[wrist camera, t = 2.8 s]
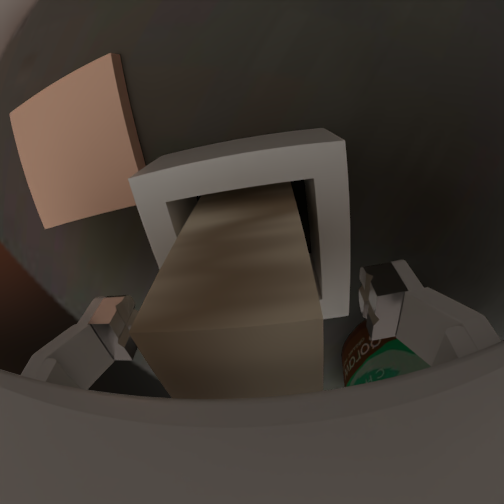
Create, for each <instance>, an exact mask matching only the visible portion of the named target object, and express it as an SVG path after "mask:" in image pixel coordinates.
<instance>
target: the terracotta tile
mask: <svg viewBox="0 0 504 504" xmlns="http://www.w3.org/2000/svg"><path fill="white" fill-rule="evenodd" d="M10 119H11V124H12V128H13V133H14V137H15V141H16V145H17V149H18V152H19V156H20V160H21V163H22V166H23V170H24V173H25V176H26V179H27V182H28V185H29V188H30V191H31V194H32V197H33V200H34V202H35V205H36V208H37V210H38V213H39V215H40V218H41V220H42V223H43V225H44V228H45V229H47V228H51V227H54V226H57V225H61V224H64V223H68V222H71V221H75V220H79V219H82V218H86V217H90V216H94V215H98V214H102V213H105V212H109V211H114V210H118V209H122V208H126V207H130V206H135V205H136V203H135V200H134V196H133V193H132V190H131V187H130V184H129V181H128V178H130V177H131V176H132V175H134V174H135V173H137V172H138V171H140V170H141V169H143V168H144V167H145V166H146V165H145V161H144V157H143V154H142V150H141V146H140V143H139V139H138V135H137V131H136V127H135V123H134V119H133V114H132V110H131V106H130V102H129V97H128V93H127V88H126V83H125V78H124V73H123V68H122V63H121V58H120V55H119V54H113V53H109V54H107V55H105V56H103V57H101V58H99V59H97V60H95V61H93V62H91V63H89V64H87V65H85V66H83V67H81V68H79V69H77V70H76V71H74V72H72V73H70V74H68V75H67V76H65V77H63V78H61V79H60V80H58V81H56V82H55V83H53V84H52V85H50V86H48V87H47V88H45V89H44V90H42V91H41V92H39V93H38V94H36V95H35V96H33V97H32V98H30V99H29V100H27V101H26V102H24V103H23V104H22V105H20V106H19V107H18V108H16V109H15V110H14V111H12V112H11V113H10Z"/></svg>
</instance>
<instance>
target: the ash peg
mask: <svg viewBox="0 0 504 504" xmlns="http://www.w3.org/2000/svg"><path fill="white" fill-rule="evenodd" d="M129 334H130V336H131V337H132V339H133V341H134V342H135V344H136V346H137V347H138V349H139V350H140V352H141V353H142V355H143V357H144V358H145V360H146V361H147V363H148V364H149V366H150V367H151V369H152V370H153V372H154V373H155V375H156V376H157V378H158V379H159V380H160V382H161V383H162V385H163V386H164V388H165V389H166V390H167V392H168V393H169V394H170V396H171V397H172V398H177V399H236V398H256V397H270V396H282V395H292V394H301V393H309V392H316V391H323V367H324V342H323V315H322V310H321V305H320V301H319V296H318V291H317V287H316V282H315V278H314V274H313V269H312V265H311V261H310V256H309V252H308V248H307V244H306V240H305V236H304V232H303V228H302V224H301V220H300V216H299V212H298V208H297V204H296V201H295V197H294V193H293V190H292V186H291V182H290V181H288V182H281V183H274V184H267V185H260V186H253V187H247V188H240V189H234V190H228V191H222V192H217V193H211V194H205V195H201V197H200V199H199V200H198V202H197V204H196V206H195V207H194V209H193V211H192V212H191V214H190V216H189V218H188V219H187V221H186V223H185V225H184V226H183V228H182V230H181V232H180V234H179V235H178V237H177V239H176V241H175V243H174V244H173V246H172V248H171V250H170V252H169V254H168V255H167V257H166V259H165V261H164V263H163V265H162V267H161V269H160V270H159V272H158V274H157V276H156V278H155V280H154V282H153V284H152V286H151V288H150V290H149V292H148V294H147V296H146V298H145V300H144V302H143V304H142V306H141V308H140V310H139V312H138V314H137V316H136V318H135V320H134V322H133V325H132V327H131V329H130V331H129Z"/></svg>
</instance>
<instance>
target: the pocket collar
mask: <svg viewBox="0 0 504 504" xmlns="http://www.w3.org/2000/svg"><path fill="white" fill-rule="evenodd" d="M296 180H304V184H305V193H306V202H307V211H308V221H309V232H310V243H311V253H309V256H310V261H311V265H312V269H313V274H314V278H315V282H316V287H317V291H318V296H319V301H320V305H321V310H322V315H323V319H329V318H336V317H343V316H349V298H350V205H349V184H348V169H347V156H346V145H345V140H343V139H342V138H340V137H338V136H337V135H335V134H333V133H332V132H330V131H328V130H326V129H325V128H315V129H305V130H297V131H288V132H281V133H273V134H267V135H260V136H254V137H248V138H242V139H236V140H231V141H225V142H220V143H215V144H210V145H205V146H201V147H196V148H192V149H187V150H183V151H179V152H175V153H171V154H167V155H163V156H160V157H159V158H157V159H156V160H154V161H153V162H151V163H150V164H148V165H147V166H145V167H144V168H143V169H141V170H140V171H138V172H137V173H135V174H134V175H132V176H131V177H130V178H128V181H129V184H130V187H131V190H132V193H133V196H134V200H135V203H136V206H137V209H138V212H139V215H140V217H141V220H142V223H143V226H144V229H145V232H146V235H147V237H148V240H149V243H150V245H151V248H152V251H153V254H154V256H155V259H156V261H157V264H158V266H159V269H161V267H162V265H163V263H164V261H165V259H166V257H167V255H168V254H169V252H170V250H171V248H172V246H173V244H174V243H175V241H176V239H177V237H178V235H179V234H180V232H181V230H182V228H183V226H184V225H185V223H186V221H187V219H188V218H189V216H190V214H191V212H192V211H193V209H194V207H195V206H196V204H197V202H198V201H197V198H196V196H200V195H205V194H211V193H217V192H222V191H228V190H234V189H240V188H247V187H253V186H260V185H267V184H274V183H281V182H288V181H296Z"/></svg>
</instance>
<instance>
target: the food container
mask: <svg viewBox="0 0 504 504" xmlns="http://www.w3.org/2000/svg"><path fill="white" fill-rule="evenodd" d="M366 323H367V319H366V320H364V321H363V322H362V323H360V324H359V325H358V326H357V327H356V328H355V329H354V331H353V332H352V333H351V334H350V335H349V337H348V338H347V340H346V341H345V343H344V346H343V349H342V364H343V374H344V383H345V387H348V386H354V385H359V384H364V383H369V382H374V381H378V380H383V379H387V378H391V377H396V376H400V375H403V374H407V373H411V372H415V371H418V370H422V369H425V368H429V367H431V366H430V365H429V364H428V363H426V362H425V361H424V360H423V359H422V358H420V357H419V356H418V355H417V354H415V353H414V352H413V351H412V350H411V349H409V348H408V347H407V346H406V345H405V344H403V343H402V342H401V341H400V340H398V339H397V338H396V336H394V337H389V338H383V339H378V340H372V341H371V338H370V335H369V332H368V330H367V327H366Z"/></svg>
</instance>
